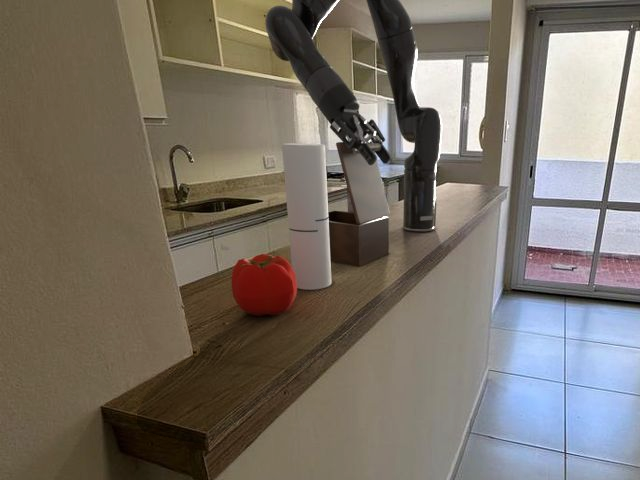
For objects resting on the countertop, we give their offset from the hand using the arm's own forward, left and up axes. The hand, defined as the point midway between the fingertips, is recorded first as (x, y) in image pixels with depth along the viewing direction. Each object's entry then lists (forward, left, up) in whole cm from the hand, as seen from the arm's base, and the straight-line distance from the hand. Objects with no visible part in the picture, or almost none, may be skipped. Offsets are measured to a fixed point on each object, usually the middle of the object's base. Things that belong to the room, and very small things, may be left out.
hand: (381, 161), depth 93 cm
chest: (+2, -9, -21) cm, 24 cm away
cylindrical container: (+21, +1, -22) cm, 30 cm away
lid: (+1, -4, -5) cm, 6 cm away
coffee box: (-14, -19, -22) cm, 32 cm away
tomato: (+35, +6, -22) cm, 41 cm away
